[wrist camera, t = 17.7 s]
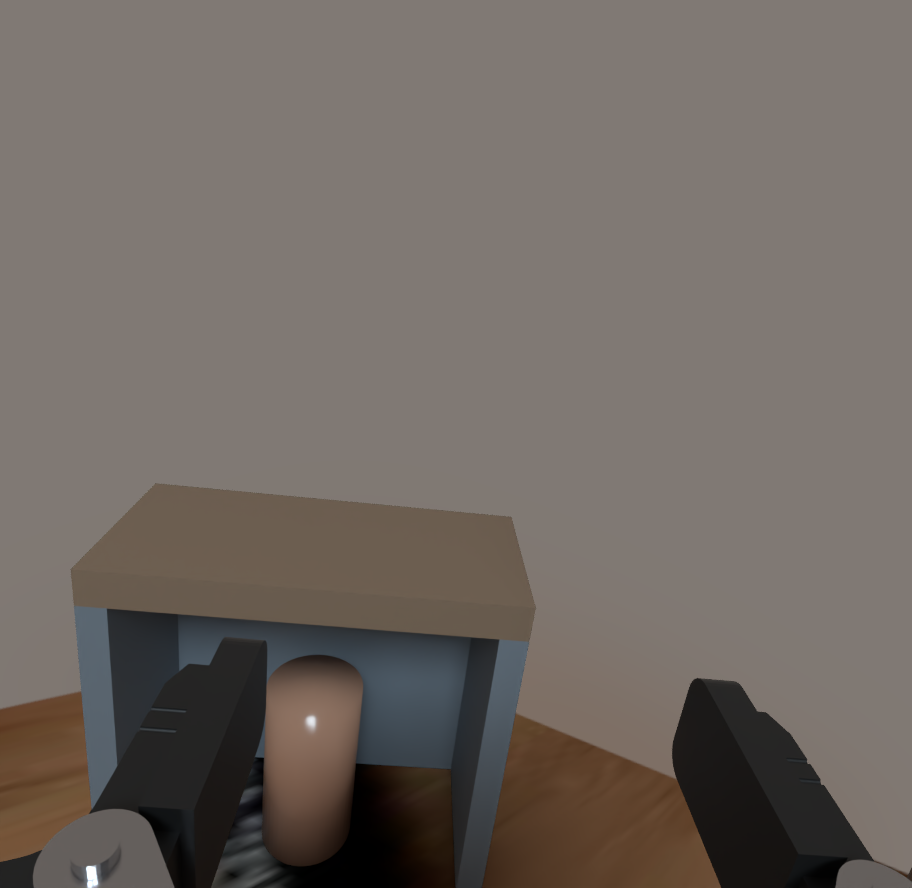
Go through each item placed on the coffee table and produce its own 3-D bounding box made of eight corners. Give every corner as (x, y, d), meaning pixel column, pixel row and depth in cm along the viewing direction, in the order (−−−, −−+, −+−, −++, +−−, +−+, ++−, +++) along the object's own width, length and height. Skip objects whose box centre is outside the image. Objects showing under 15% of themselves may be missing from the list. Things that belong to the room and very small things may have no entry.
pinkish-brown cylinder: (354, 791, 44) (367, 658, 41) (344, 868, 39) (358, 724, 35) (272, 786, 44) (278, 651, 40) (251, 863, 39) (255, 716, 35)
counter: (470, 759, 48) (511, 516, 41) (480, 893, 39) (535, 607, 32) (164, 740, 46) (155, 483, 40) (97, 875, 37) (70, 569, 30)
